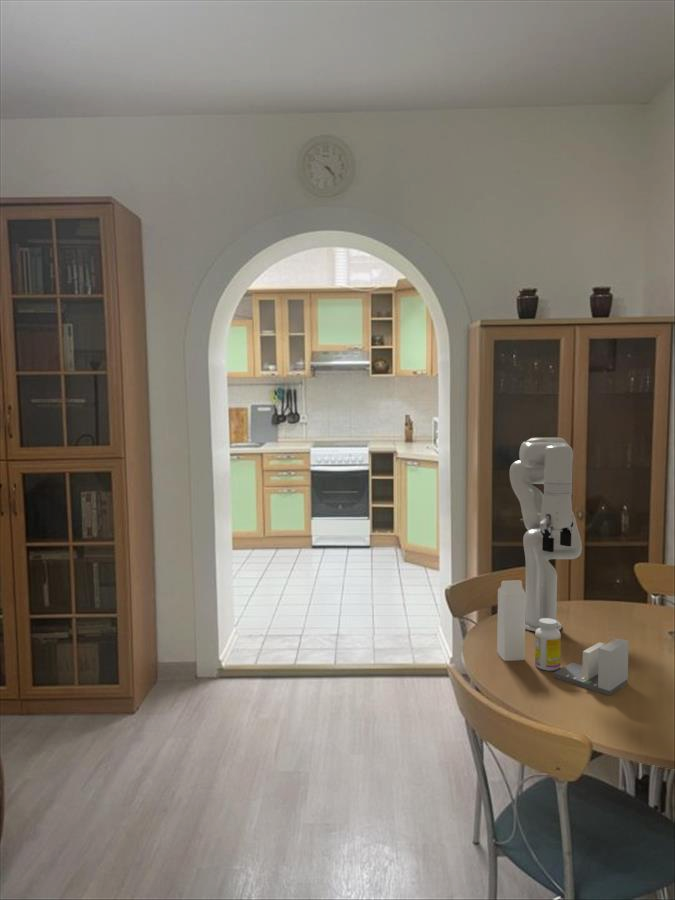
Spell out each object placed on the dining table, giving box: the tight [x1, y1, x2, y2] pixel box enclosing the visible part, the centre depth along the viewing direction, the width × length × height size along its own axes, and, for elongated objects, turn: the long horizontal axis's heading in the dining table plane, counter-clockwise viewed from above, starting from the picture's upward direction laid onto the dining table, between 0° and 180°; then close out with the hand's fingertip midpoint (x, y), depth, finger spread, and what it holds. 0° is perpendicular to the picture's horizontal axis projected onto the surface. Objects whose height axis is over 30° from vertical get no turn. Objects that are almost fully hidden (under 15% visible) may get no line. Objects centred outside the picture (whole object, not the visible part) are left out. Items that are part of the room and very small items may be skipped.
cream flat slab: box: [581, 641, 606, 681], centre depth 171 cm, size 2×10×7 cm, turn 133°
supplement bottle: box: [534, 618, 562, 672], centre depth 181 cm, size 7×7×13 cm
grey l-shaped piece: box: [553, 637, 630, 697], centre depth 172 cm, size 15×10×11 cm, turn 43°
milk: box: [496, 579, 526, 662], centre depth 188 cm, size 6×6×22 cm
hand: (556, 548), depth 189 cm, fingers open, 9 cm apart
